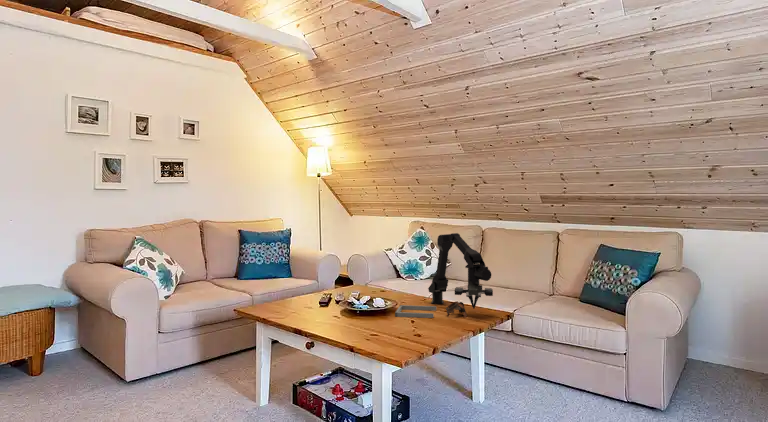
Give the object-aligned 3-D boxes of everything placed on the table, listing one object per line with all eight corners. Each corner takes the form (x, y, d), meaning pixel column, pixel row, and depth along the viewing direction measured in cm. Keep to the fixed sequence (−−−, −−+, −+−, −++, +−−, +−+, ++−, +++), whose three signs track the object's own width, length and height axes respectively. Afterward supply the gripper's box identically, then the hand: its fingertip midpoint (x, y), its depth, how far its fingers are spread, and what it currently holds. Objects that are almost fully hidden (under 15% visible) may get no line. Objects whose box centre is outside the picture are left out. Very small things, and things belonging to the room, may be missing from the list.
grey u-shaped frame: (400, 308, 267) (400, 305, 267) (436, 310, 263) (436, 306, 263) (395, 316, 251) (394, 312, 251) (433, 317, 247) (433, 313, 247)
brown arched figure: (465, 320, 244) (456, 305, 244) (449, 326, 250) (441, 312, 249) (472, 308, 255) (464, 295, 254) (457, 314, 260) (449, 301, 259)
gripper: (453, 280, 245) (454, 311, 245) (493, 281, 241) (493, 313, 242) (455, 276, 255) (455, 306, 256) (492, 277, 252) (492, 307, 253)
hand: (473, 308), depth 251 cm, fingers closed
